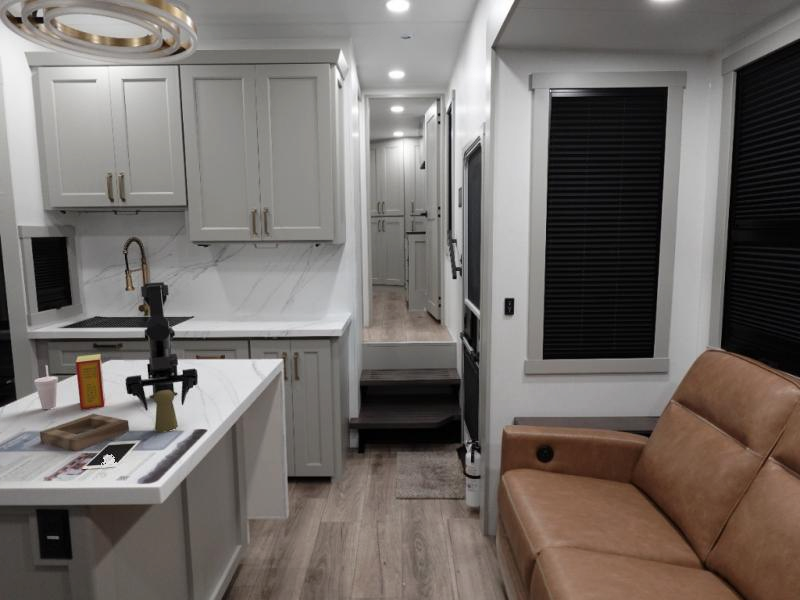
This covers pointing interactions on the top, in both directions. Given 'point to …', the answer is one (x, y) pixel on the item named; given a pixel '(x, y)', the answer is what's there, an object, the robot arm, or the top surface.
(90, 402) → the baking soda box
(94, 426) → the walnut socket
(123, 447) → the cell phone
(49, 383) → the smoothie
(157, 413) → the cork
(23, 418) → the top surface
